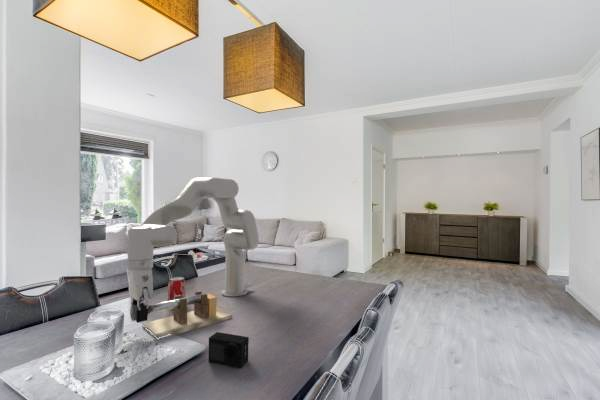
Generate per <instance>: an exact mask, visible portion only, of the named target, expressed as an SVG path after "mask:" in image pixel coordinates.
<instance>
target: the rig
mask: <svg viewBox="0 0 600 400" xmlns="http://www.w3.org/2000/svg"><path fill="white" fill-rule="evenodd" d="M202 292H203V291H201V290H197V291H195V293H194V294H195V295H199V294H201V302H200V303H196V304H193V308H194V309H193V310H191V311H188V309H187V307H188V305H187V298H182V299H180V298H181V295H177V296H175V299H180V307H179V308H174V309H173V315H172V316H167V317H163V318H159V319H155V320H152V321H148V322H147V321H146V322H142V326H143V325H144V326H145V327H146V328H147V329H148V330H150V331H151V332H152V333H153V334H154V335H155V336H156V337H157V338H159V337H162V336H166V335H168V334H171V335H172V336H174V335H175V336H177V335H178V334H182V333H185V332H189V331H192V330H195V329H200V328H203V327H206V326H210V325H212V324H215V323H219V322H222V321H223V322H224V321H227V320H230V319H233V314H231V313H229V312H228V311H225V310H223V309H222V308H219V307H218V306H216V316H213V317H208V304H207V293H202Z"/></svg>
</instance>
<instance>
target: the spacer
mask: <svg viewBox="0 0 600 400" xmlns="http://www.w3.org/2000/svg"><path fill="white" fill-rule="evenodd" d="M206 294H207V304H208V317H213V316H216V307H218V305H217V303H218V301H217V296H214V294H213V295H212V294H210V293H209V292H207V293H206Z"/></svg>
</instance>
